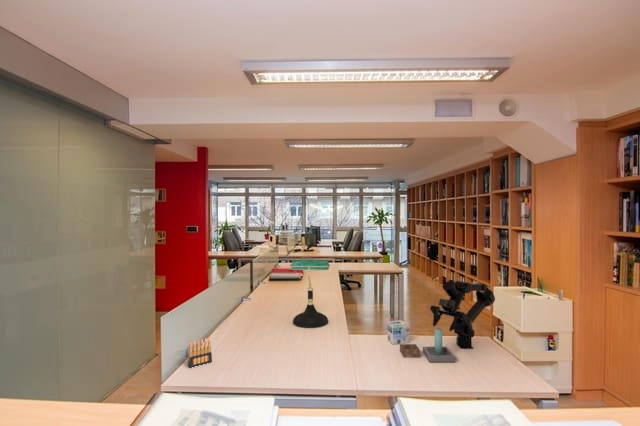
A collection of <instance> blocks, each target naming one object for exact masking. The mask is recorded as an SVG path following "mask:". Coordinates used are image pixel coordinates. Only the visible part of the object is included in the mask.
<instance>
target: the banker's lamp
mask: <svg viewBox="0 0 640 426" xmlns="http://www.w3.org/2000/svg"><path fill="white" fill-rule="evenodd" d="M329 262H330V261H328V260H320V259H319V260H316V259H315V260H314V259H313V260H308V259H307V260H292V261H291V264H290V265H289V267H290V268H291V271H292V270H293V271H307V278H308V282H309V285H308V287H307V301H308V302H307V304H306V307H305V308H304V311H303V312H301V313H298V314H296V316H294V317H293V320H292V324H293V325H294V326H296V327H298V328H302V329H303V328H304V329H316V328H322V327H324V326H326V325H328V324H329V319H328V317H327V316H326V314H323V313H322V312H318V310H317V309H316V308H315V305H314V302H313V301H314V288H313V287H312V283H311V279H310V271H328V270H329V269H330V268H331V264H330V263H329Z"/></svg>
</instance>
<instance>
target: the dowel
mask: <svg viewBox="0 0 640 426" xmlns="http://www.w3.org/2000/svg"><path fill="white" fill-rule="evenodd" d="M434 347H435V356H442V347H443V329H441V328H435V329H434Z"/></svg>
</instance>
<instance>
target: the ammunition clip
mask: <svg viewBox="0 0 640 426" xmlns="http://www.w3.org/2000/svg"><path fill="white" fill-rule="evenodd" d="M188 345H189V346H188V357H187V358H188V362H187V363H188V364H187V367H189V368H190V369H193V368H196V367H195V366H197V367H200V366H199V365H201V366H204V365H208V364H212V363H213V355H212V341H211V337H208V340H207V337H205V339H204V340H203V338H201V341H200V340H199V339H197V342H196V340H194V341H193V342H192V341H189V344H188ZM211 362H212V363H211ZM207 363H208V364H207ZM203 364H204V365H203ZM192 367H193V368H192ZM189 368H188V369H189Z"/></svg>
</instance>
